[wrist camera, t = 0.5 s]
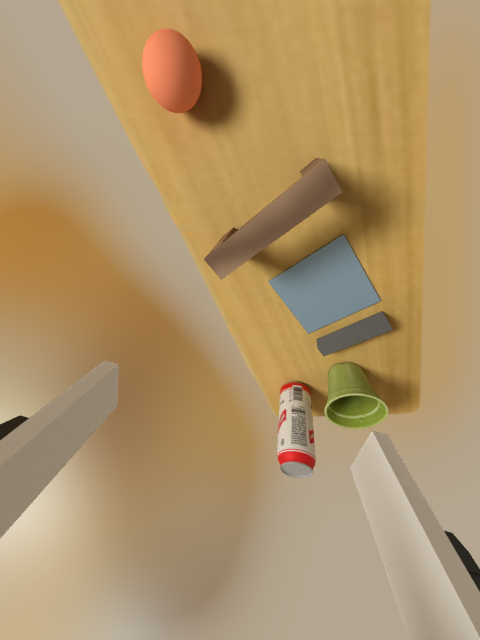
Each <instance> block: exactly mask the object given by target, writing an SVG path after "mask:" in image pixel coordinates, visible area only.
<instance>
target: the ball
mask: <svg viewBox="0 0 480 640" xmlns="http://www.w3.org/2000/svg"><path fill="white" fill-rule="evenodd" d="M142 65H143V73H144V78H145V81H146V84H147V87H148V89H149V91H150V93H151V94H152V96H153V97H154V99H155V100H156V101H157V102H158V103H159V104H160V105H161V106H162V107H163V108H165V109H166V110H168V111H170V112H174V113H183V112H186V111H188V110H190V109H191V108H192V107H193V106H194V105H195V103H196V102H197V100H198V98H199V95H200V92H201V87H202V72H201V66H200V62H199V59H198V56H197V54H196V52H195V50H194V48H193V47H192V45H191V44H190V42H189V41H188V40H187V39H186V38H185V37H184V36H183V35H182V34H180V33H179V32H177V31H175V30H172V29H161V30H158V31H156V32H154V33H153V34H152V35H151V36H150V37H149V39H148V41H147V42H146V45H145V47H144V51H143V58H142Z"/></svg>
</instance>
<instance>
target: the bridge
mask: <svg viewBox="0 0 480 640" xmlns="http://www.w3.org/2000/svg"><path fill="white" fill-rule="evenodd" d="M300 172H301V174H302V176H303V177H301V178H300V179H299V180H298V181H297V182H295V183H294V184H293V185H292V186H290V187H289V188H288V189H287V190H286V191H284V192H283V193H282V194H281V195H280V196H278V197H277V198H276V199H275V200H274V201H272V202H271V203H270V204H269V205H268V206H266V207H265V208H264V209H263V210H262V211H260V212H259V213H258V214H257V215H255V216H254V217H253V218H252V219H251V220H249V221H248V222H247V223H246V224H245V225H243V226H242V227H241V228H240V229H239V230H237V231H236V230H235V229H234V228H233V229H231V230H230V231H229V232H228V233H227V234H225V235H224V236H223V237H222V238H221V240H220V241H219V242H218V243H217V244H216V246H215V247H214V248H213V249H212V250H211V252H210V253H209V254H208V255H207V256H206V257H205V259H204V260H205V261H206V262H207V264H208V265H209V266H210V267H211V268H212V269H213V270H214V272H215V273H216V274H217V275H218V276H219V277H220V279H223V278H224V277H226V276H227V275H228V274H230V273H231V272H233V271H234V270H235V269H237V268H238V267H239V266H241V265H242V264H244V263H245V262H246V261H248V260H249V259H251V258H252V257H253V256H255V255H256V254H257V253H259V252H260V251H262V250H263V249H264V248H266V247H267V246H269V245H270V244H271V243H273V242H274V241H275V240H277V239H278V238H280V237H281V236H282V235H284V234H285V233H286V232H288V231H289V230H291V229H292V228H293V227H295V226H296V225H298V224H299V223H300V222H302V221H303V220H304V219H306V218H307V217H309V216H310V215H311V214H313V213H314V212H316V211H317V210H318V209H320V208H321V207H322V206H324V205H325V204H327V203H328V202H329V201H331V200H332V199H334V198H335V197H336V196H338V195H339V194H340V193H342V190H341V188H340V186H339V185H338V183H337V181H336V179H335V177H334V175H333V173H332V171H331V169H330V167H329V165H328V163H327V161H326V159H319V158H315V159H314V160H313V161H312V162H311V163H309V164H308V165H307V166H306V167H305V168H304V169H302V170H301V171H300Z"/></svg>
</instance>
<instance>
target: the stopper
mask: <svg viewBox="0 0 480 640" xmlns="http://www.w3.org/2000/svg"><path fill="white" fill-rule="evenodd" d="M391 330H393V329H392V327H391V325H390V324H389V322H388V320H387V318H386V317H385V315H384V313H383V312H379V313H377V314H375V315H372V316H370V317H368V318H365V319H363V320H361V321H358V322H356V323H354V324H351V325H349V326H347V327H344V328H342V329H340V330H337V331H335V332H332V333H330V334H328V335H325V336H323V337H321V338H318V339H317V346H318V350H319V351H320V352H321V353H322V355H323V356H326V355H329V354H331V353H334V352H336V351H339V350H342V349H344V348H347V347H349V346H352V345H355V344H357V343H360V342H363V341H365V340H368V339H370V338H373V337H376V336H378V335H381V334H384V333H386V332H389V331H391Z"/></svg>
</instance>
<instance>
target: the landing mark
mask: <svg viewBox="0 0 480 640" xmlns="http://www.w3.org/2000/svg"><path fill="white" fill-rule="evenodd" d="M269 283H270V285H271V286H272V287H273V288H274V290H275V291H276V292H277V294H278V295H279V296H280V298H281V299H282V300H283V301H284V303H285V304H286V305H287V307H288V308H289V309H290V310H291V312H292V313H293V314H294V316H295V317H296V318H297V320H298V321H299V322H300V323H301V325H302V326H303V327H304V329H305V330H306V331H307V333H311V332H313V331H315V330H317V329H320V328H322V327H324V326H326V325H329V324H331V323H333V322H335V321H337V320H340V319H342V318H344V317H346V316H349V315H351V314H353V313H355V312H357V311H360V310H362V309H364V308H366V307H369V306H371V305H373V304H375V303H378V302H380V301H381V300H380V299H379V297H378V295H377V293H376V291H375V290H374V288H373V286H372V284H371V282H370V281H369V279H368V277H367V275H366V273H365V272H364V270H363V268H362V266H361V264H360V263H359V261H358V259H357V257H356V256H355V254H354V252H353V250H352V248H351V247H350V245H349V243H348V241H347V239H346V238H345V236H344V234H343V235H341V236H340V237H338V238H337V239H335V240H333V241H332V242H330V243H329V244H327V245H326V246H324V247H322V248H321V249H319V250H318V251H316V252H314V253H313V254H311V255H310V256H308V257H306V258H305V259H303V260H302V261H300V262H299V263H297V264H295V265H294V266H292V267H291V268H289V269H287V270H286V271H284V272H283V273H281V274H279V275H278V276H276V277H275V278H273V279H272V280H270V281H269Z"/></svg>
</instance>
